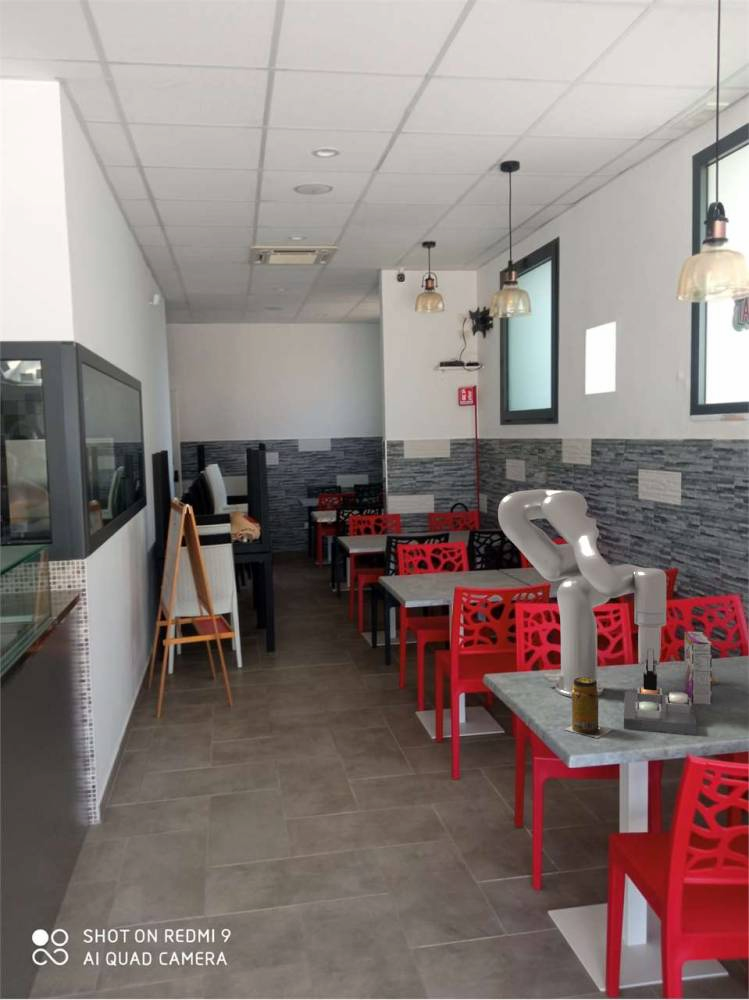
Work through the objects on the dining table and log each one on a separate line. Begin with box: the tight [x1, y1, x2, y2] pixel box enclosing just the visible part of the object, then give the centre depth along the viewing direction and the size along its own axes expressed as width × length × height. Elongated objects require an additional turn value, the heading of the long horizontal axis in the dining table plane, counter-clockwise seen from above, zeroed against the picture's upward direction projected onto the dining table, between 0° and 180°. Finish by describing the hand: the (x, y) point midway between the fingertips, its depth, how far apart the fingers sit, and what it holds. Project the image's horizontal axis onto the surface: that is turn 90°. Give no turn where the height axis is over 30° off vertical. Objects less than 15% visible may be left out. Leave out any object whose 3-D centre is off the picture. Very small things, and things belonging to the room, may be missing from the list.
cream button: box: [668, 691, 688, 705], centre depth 190 cm, size 4×4×2 cm
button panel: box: [623, 685, 698, 736], centre depth 192 cm, size 16×20×4 cm
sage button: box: [639, 702, 658, 711], centre depth 187 cm, size 4×4×2 cm
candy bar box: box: [684, 631, 713, 706], centre depth 204 cm, size 11×5×16 cm, turn 168°
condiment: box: [564, 677, 613, 739], centre depth 184 cm, size 7×8×12 cm
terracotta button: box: [641, 686, 659, 694], centre depth 198 cm, size 4×4×2 cm
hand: (650, 688), depth 198 cm, fingers closed
